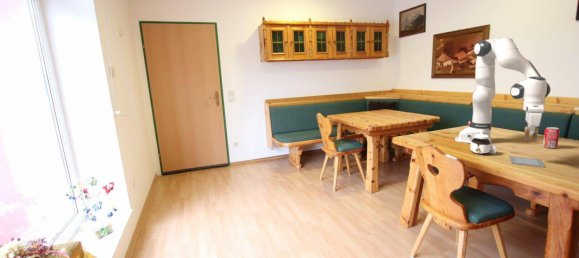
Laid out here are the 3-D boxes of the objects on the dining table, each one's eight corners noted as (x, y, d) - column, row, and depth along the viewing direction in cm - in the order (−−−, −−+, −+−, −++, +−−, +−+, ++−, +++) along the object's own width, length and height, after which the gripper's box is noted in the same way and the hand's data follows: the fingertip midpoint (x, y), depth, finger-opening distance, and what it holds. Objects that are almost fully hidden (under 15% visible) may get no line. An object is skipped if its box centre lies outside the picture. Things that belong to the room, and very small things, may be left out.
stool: (524, 140, 155) (526, 128, 154) (523, 138, 159) (525, 126, 158) (536, 141, 153) (538, 128, 151) (535, 139, 157) (536, 126, 155)
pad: (511, 163, 157) (511, 162, 157) (509, 156, 168) (509, 156, 168) (544, 167, 149) (545, 166, 149) (540, 160, 161) (540, 159, 161)
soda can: (560, 149, 178) (563, 129, 176) (546, 148, 180) (550, 129, 177) (552, 146, 185) (555, 126, 183) (539, 145, 187) (542, 126, 184)
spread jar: (468, 152, 180) (469, 134, 178) (479, 149, 185) (481, 132, 182) (487, 157, 170) (489, 138, 167) (499, 154, 174) (501, 136, 171)
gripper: (523, 104, 163) (521, 127, 165) (528, 109, 146) (525, 135, 149) (538, 104, 159) (535, 128, 162) (544, 109, 143) (541, 136, 145)
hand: (530, 131), depth 155 cm, fingers closed on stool, 5 cm apart
